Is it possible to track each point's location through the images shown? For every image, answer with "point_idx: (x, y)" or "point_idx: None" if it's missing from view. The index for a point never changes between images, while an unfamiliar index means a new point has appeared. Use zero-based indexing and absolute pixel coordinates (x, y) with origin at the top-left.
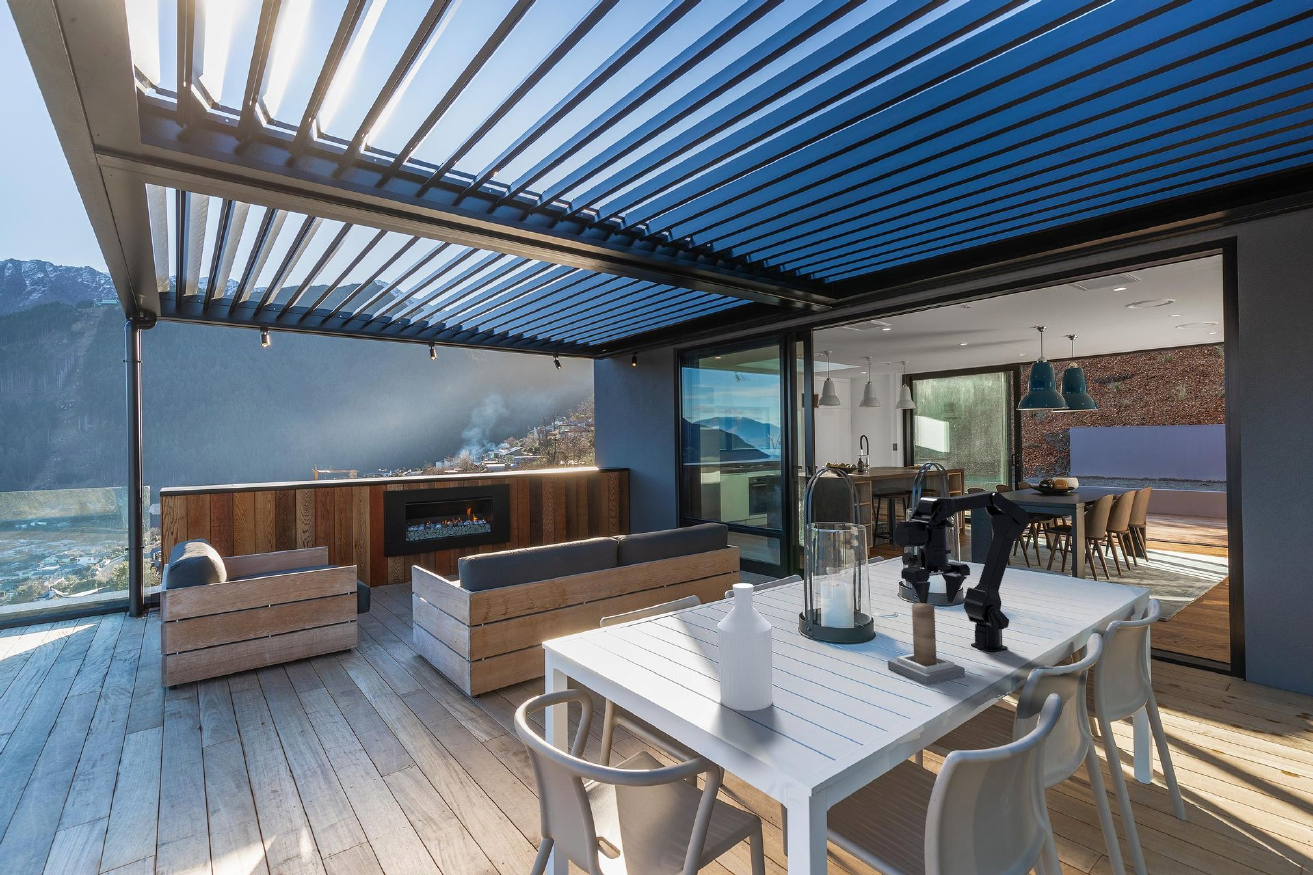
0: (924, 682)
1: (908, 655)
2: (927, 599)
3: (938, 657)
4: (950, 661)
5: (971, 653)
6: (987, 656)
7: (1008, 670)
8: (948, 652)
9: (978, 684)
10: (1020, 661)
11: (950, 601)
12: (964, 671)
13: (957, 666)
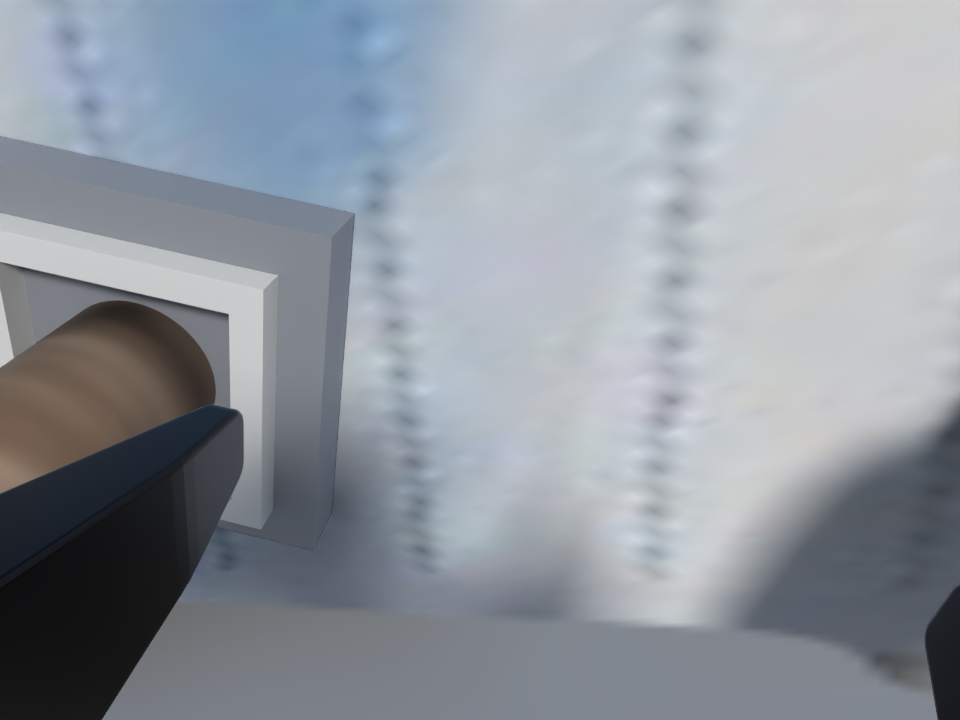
0: None
1: (71, 256)
2: (151, 632)
3: (250, 423)
4: (257, 506)
5: (849, 359)
6: (854, 462)
7: (642, 622)
8: (730, 222)
9: (294, 589)
10: (892, 623)
11: (934, 647)
12: (320, 533)
13: (297, 516)
